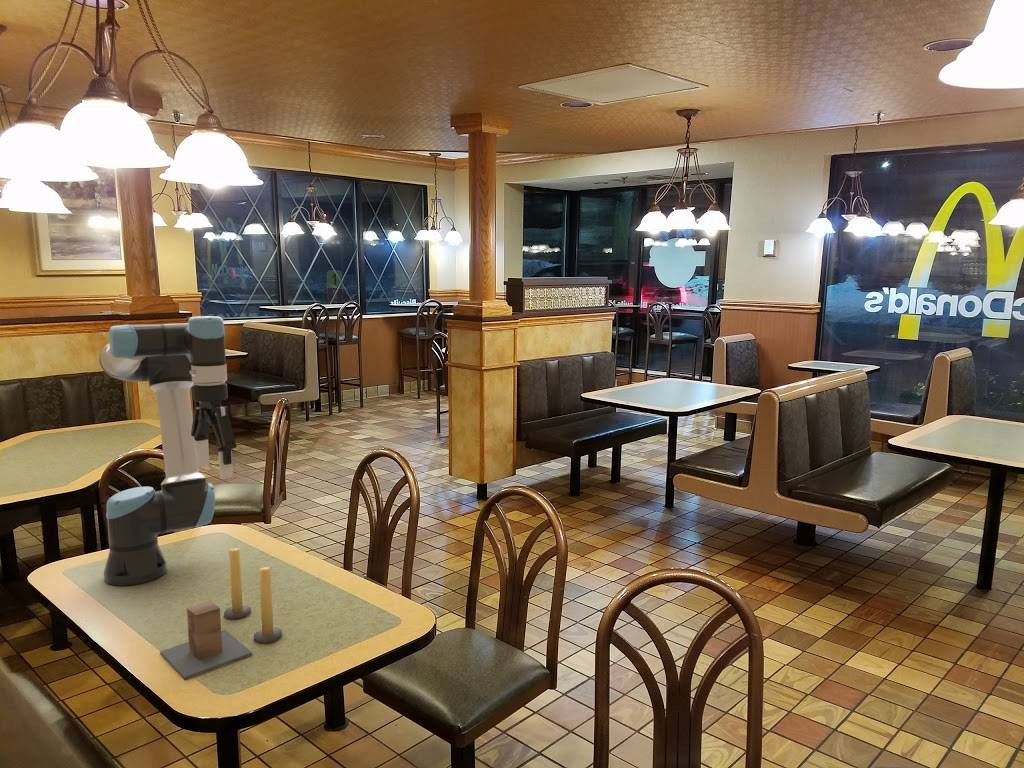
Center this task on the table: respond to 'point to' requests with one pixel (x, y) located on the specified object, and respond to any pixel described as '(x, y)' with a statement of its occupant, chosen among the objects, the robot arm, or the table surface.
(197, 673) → the mat
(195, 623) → the block
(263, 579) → the gate
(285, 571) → the table surface
